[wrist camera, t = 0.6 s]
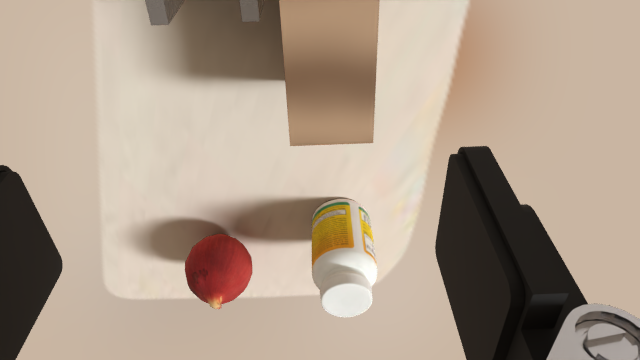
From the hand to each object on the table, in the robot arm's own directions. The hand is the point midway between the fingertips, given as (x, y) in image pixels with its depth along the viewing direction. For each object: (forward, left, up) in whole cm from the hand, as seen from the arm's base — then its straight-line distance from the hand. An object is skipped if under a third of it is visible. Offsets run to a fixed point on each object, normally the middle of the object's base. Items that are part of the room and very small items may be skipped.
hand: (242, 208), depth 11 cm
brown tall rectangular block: (+4, +3, -25) cm, 26 cm away
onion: (+25, -7, -26) cm, 36 cm away
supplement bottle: (+23, +4, -26) cm, 35 cm away
